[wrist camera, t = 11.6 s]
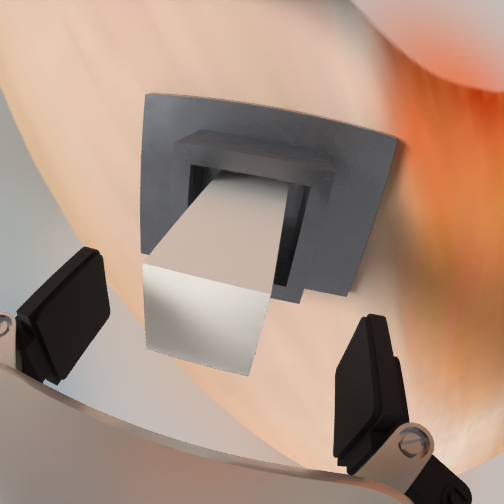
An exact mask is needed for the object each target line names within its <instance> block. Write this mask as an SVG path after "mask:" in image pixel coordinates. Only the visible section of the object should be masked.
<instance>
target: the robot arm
mask: <svg viewBox="0 0 504 504" xmlns="http://www.w3.org/2000/svg"><path fill="white" fill-rule="evenodd" d="M17 314H18V315H17V316H16V317H15V318H14V316H13V315H12V314H10V313H7V312H0V504H471V502H472V495H471V492H470V489H469V488H468V486H467V485H466V484H465V483H464V482H463V481H462V480H460V479H459V478H458V477H457V476H456V475H455V474H454V473H453V472H451V471H450V470H449V469H448V468H447V467H446V466H445V465H444V464H443V463H441V462H440V461H439V460H438V459H437V458H436V457H435V456H434V455H432V453H433V451H434V441H433V438H432V436H431V434H430V432H429V431H428V430H427V429H426V428H425V427H423V426H421V425H420V424H416V423H409V415H408V408H407V402H406V395H405V389H404V383H403V377H402V372H401V366H400V362H399V359H398V358H397V357H394V356H393V351H392V345H391V340H390V335H389V330H388V325H387V321H386V317H384V316H380V315H375V314H368V315H367V317H362V318H361V320H360V322H359V324H358V326H357V329H356V331H355V333H354V335H353V337H352V339H351V341H350V343H349V345H348V347H347V349H346V351H345V353H344V355H343V357H342V359H341V361H340V363H339V365H338V367H337V369H336V374H335V421H334V447H333V456H334V457H335V458H338V463H337V466H346V467H347V473H348V474H349V475H347V474H340V473H333V472H327V471H320V470H312V469H305V468H298V467H292V466H286V465H280V464H275V463H269V462H264V461H258V460H254V459H249V458H244V457H240V456H235V455H231V454H227V453H223V452H219V451H215V450H211V449H207V448H204V447H200V446H196V445H193V444H190V443H186V442H182V441H180V440H176V439H173V438H170V437H167V436H164V435H161V434H158V433H155V432H152V431H149V430H146V429H144V428H141V427H138V426H136V425H133V424H130V423H128V422H125V421H123V420H120V419H118V418H115V417H113V416H110V415H108V414H105V413H103V412H101V411H98V410H96V409H94V408H91V407H89V406H87V405H85V404H83V403H81V402H79V401H76V400H74V399H72V398H70V397H68V396H66V395H64V394H62V393H60V392H58V391H56V390H54V389H52V388H50V387H48V386H46V385H44V384H43V381H44V380H45V378H46V380H48V381H49V382H51V383H53V384H55V385H58V384H59V382H60V381H61V379H62V380H63V379H65V378H66V377H67V376H68V374H69V373H70V371H71V370H72V368H73V367H74V366H75V364H76V362H77V361H78V360H79V358H80V357H81V356H82V354H83V353H84V351H85V350H86V348H87V347H88V345H89V344H90V343H91V341H92V340H93V339H94V337H95V336H96V335H97V333H98V332H99V330H100V329H101V327H102V326H103V325H104V324H105V322H106V320H107V319H108V318H109V315H110V306H109V299H108V292H107V285H106V278H105V271H104V262H103V257H102V255H100V252H99V251H98V250H96V249H92V248H89V247H83V248H82V249H81V250H80V251H78V252H77V253H76V254H75V255H74V256H73V257H72V258H70V259H69V260H68V261H67V262H66V263H65V264H64V265H63V266H62V267H61V268H60V269H59V270H57V272H55V273H54V274H53V275H52V276H51V277H50V278H49V279H48V280H47V281H46V282H45V283H44V284H43V285H42V286H41V287H40V288H39V289H38V290H37V291H36V292H35V293H34V294H33V295H32V296H31V297H30V298H29V299H28V300H27V301H26V302H25V303H24V304H23V305H22V306H21V307H20V308H19V309H18V310H17Z"/></svg>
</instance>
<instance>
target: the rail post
mask: <svg viewBox="0 0 504 504" xmlns="http://www.w3.org/2000/svg"><path fill="white" fill-rule="evenodd" d="M288 187H289V182H287V181H282V180H277V179H272V178H267V177H261V176H256V175H251V174H245V173H240V172H234V171H229V170H223V169H222V170H221V171H220V172H219V173H218V175H217V176H216V177H215V178H214V179H213V180H212V181H211V182H210V183H209V185H208V186H207V187H206V188H205V189H204V190H203V191H202V193H201V194H200V195H199V196H198V197H197V198H196V199H195V201H194V202H193V203H192V204H191V205H190V206H189V208H188V209H187V210H186V211H185V212H184V213H183V215H182V216H181V217H180V218H179V219H178V220H177V222H176V223H175V224H174V225H173V226H172V228H171V229H170V230H169V231H168V232H167V234H166V235H165V236H164V237H163V238H162V240H161V241H160V242H159V243H158V245H157V246H156V247H155V248H154V250H153V251H152V252H151V253H150V255H149V256H148V257H147V258H146V260H145V261H144V262H143V292H144V314H145V331H146V345H147V349H149V350H152V351H155V352H158V353H162V354H165V355H168V356H172V357H175V358H178V359H182V360H185V361H189V362H193V363H196V364H200V365H204V366H208V367H211V368H215V369H219V370H223V371H227V372H232V373H236V374H240V375H245V376H249V373H250V369H251V366H252V362H253V359H254V355H255V351H256V348H257V344H258V341H259V337H260V333H261V330H262V326H263V323H264V319H265V315H266V312H267V308H268V304H269V300H270V297H271V292H272V286H273V280H274V274H275V268H276V262H277V256H278V250H279V244H280V238H281V232H282V225H283V219H284V213H285V206H286V200H287V193H288Z"/></svg>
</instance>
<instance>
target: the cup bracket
mask: <svg viewBox="0 0 504 504" xmlns="http://www.w3.org/2000/svg"><path fill="white" fill-rule="evenodd" d="M397 141H398V138H396V137H395V136H392V135H389V134H386V133H382V132H379V131H376V130H372V129H369V128H365V127H361V126H358V125H354V124H350V123H346V122H342V121H338V120H334V119H330V118H325V117H321V116H317V115H312V114H307V113H302V112H298V111H293V110H287V109H282V108H277V107H271V106H265V105H259V104H253V103H246V102H239V101H232V100H224V99H216V98H207V97H197V96H187V95H174V94H159V93H149V94H145V106H144V119H143V134H142V154H141V187H140V230H141V253H143V254H148V255H150V253H151V252H152V251H153V250H154V248H155V247H156V246H157V245H158V243H159V242H160V241H161V240H162V238H163V237H164V236H165V235H166V234H167V232H168V231H169V230H170V229H171V228H172V226H173V225H174V224H175V223H176V222H177V220H178V219H179V218H180V217H181V216H182V215H183V213H184V212H185V211H186V210H187V209H188V208H189V206H190V205H191V204H192V203H193V202H194V201H195V199H196V198H197V197H198V196H199V195H200V194H201V193H202V191H203V190H204V189H205V188H206V187H207V186H208V185H209V183H210V182H211V181H212V180H213V179H214V178H215V177H216V176H217V175H218V173H219V172H220V171H221V170H222V169H223V170H229V171H234V172H240V173H245V174H251V175H256V176H261V177H267V178H272V179H277V180H282V181H287V182H289V187H288V193H287V200H286V206H285V213H284V219H283V225H282V232H281V238H280V244H279V250H278V256H277V262H276V268H275V274H274V280H273V286H272V292H271V297H270V298H273V299H278V300H283V301H288V302H293V303H298V304H299V303H300V300H301V297H302V293H303V290H304V288H305V289H310V290H315V291H320V292H325V293H330V294H335V295H340V296H345V297H347V295H348V292H349V290H350V287H351V284H352V282H353V279H354V276H355V274H356V271H357V268H358V266H359V263H360V260H361V257H362V255H363V252H364V249H365V246H366V243H367V240H368V237H369V234H370V231H371V229H372V226H373V222H374V219H375V216H376V213H377V210H378V207H379V204H380V201H381V197H382V194H383V191H384V187H385V184H386V181H387V177H388V174H389V170H390V167H391V163H392V160H393V156H394V152H395V148H396V145H397Z"/></svg>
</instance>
